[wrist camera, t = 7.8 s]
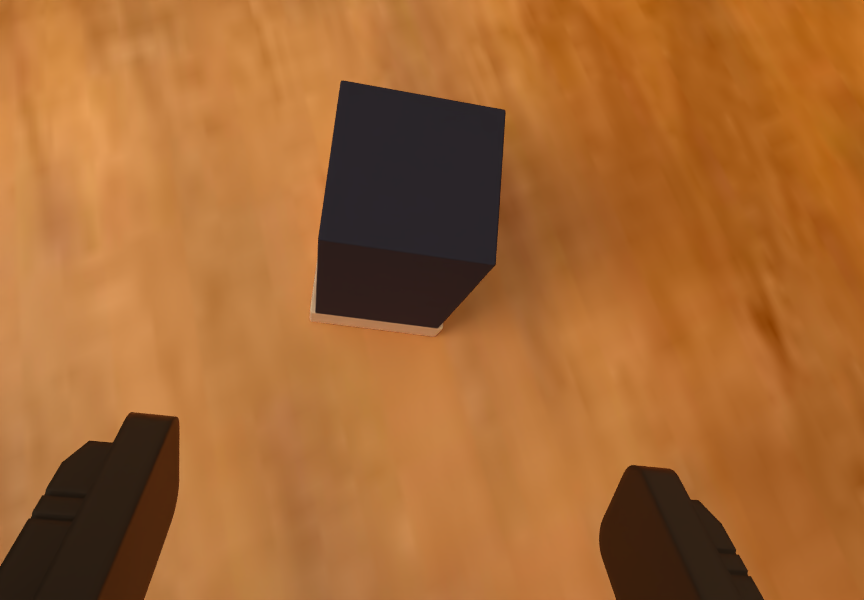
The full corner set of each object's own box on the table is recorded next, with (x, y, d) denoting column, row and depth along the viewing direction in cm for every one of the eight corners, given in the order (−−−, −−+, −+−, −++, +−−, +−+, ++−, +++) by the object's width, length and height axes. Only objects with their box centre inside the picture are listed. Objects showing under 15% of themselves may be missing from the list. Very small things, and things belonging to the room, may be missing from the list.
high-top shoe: (436, 337, 26) (503, 266, 17) (309, 321, 25) (309, 238, 16) (453, 136, 28) (520, -20, 19) (338, 116, 28) (353, -56, 19)
